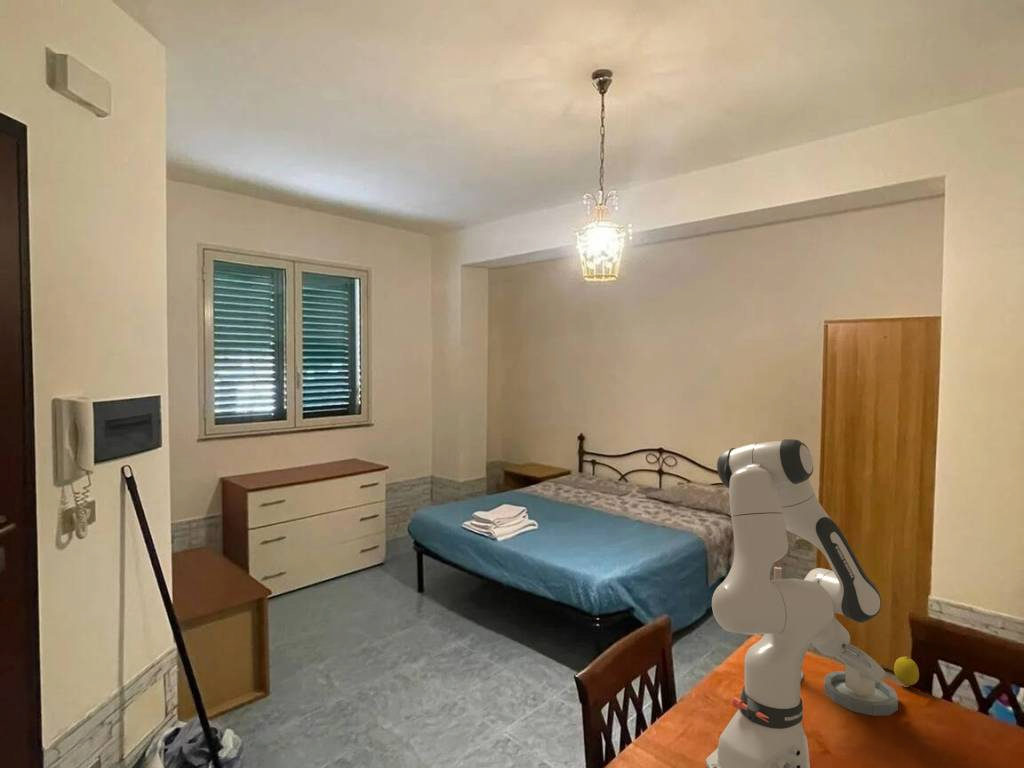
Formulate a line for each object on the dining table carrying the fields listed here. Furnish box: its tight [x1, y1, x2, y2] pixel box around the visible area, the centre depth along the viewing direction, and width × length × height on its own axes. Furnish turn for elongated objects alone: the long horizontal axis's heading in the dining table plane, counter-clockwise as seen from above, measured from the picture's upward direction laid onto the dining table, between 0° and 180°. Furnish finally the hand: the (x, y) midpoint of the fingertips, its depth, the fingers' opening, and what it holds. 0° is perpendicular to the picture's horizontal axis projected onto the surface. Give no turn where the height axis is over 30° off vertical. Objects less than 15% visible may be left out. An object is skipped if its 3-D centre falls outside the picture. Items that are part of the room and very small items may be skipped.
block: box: [844, 663, 875, 696], centre depth 146 cm, size 5×5×8 cm
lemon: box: [893, 656, 920, 687], centre depth 151 cm, size 6×6×8 cm
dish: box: [823, 670, 899, 717], centre depth 146 cm, size 16×16×3 cm
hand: (861, 670), depth 146 cm, fingers open, 5 cm apart
